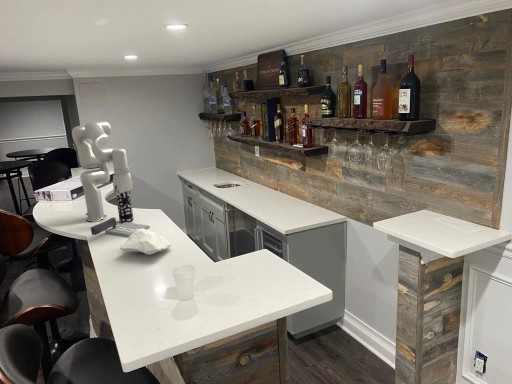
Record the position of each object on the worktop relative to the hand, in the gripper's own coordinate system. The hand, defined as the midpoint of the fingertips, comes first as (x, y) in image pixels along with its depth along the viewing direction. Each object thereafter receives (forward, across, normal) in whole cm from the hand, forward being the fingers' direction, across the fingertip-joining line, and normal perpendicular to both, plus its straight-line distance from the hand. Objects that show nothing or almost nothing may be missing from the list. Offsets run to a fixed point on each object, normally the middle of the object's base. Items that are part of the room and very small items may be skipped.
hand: (125, 203), depth 215 cm
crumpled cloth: (+17, +16, +28) cm, 37 cm away
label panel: (+17, -3, -5) cm, 18 cm away
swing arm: (+14, +8, -11) cm, 19 cm away
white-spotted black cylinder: (+17, -16, -20) cm, 31 cm away
